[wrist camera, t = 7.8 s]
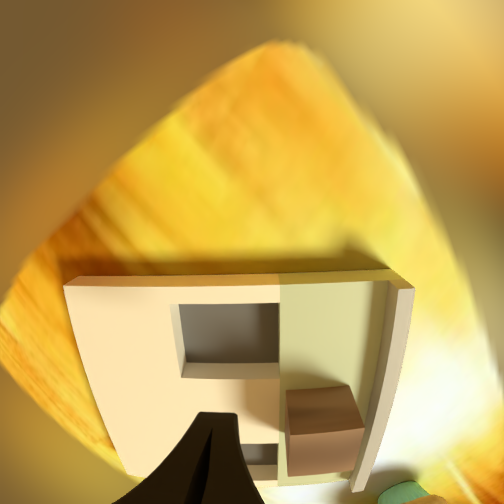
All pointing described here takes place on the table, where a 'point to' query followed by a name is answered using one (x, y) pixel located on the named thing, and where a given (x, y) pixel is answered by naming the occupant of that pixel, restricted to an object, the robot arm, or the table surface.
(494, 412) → the table surface
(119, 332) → the board
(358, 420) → the walnut block
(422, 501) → the cupcake
